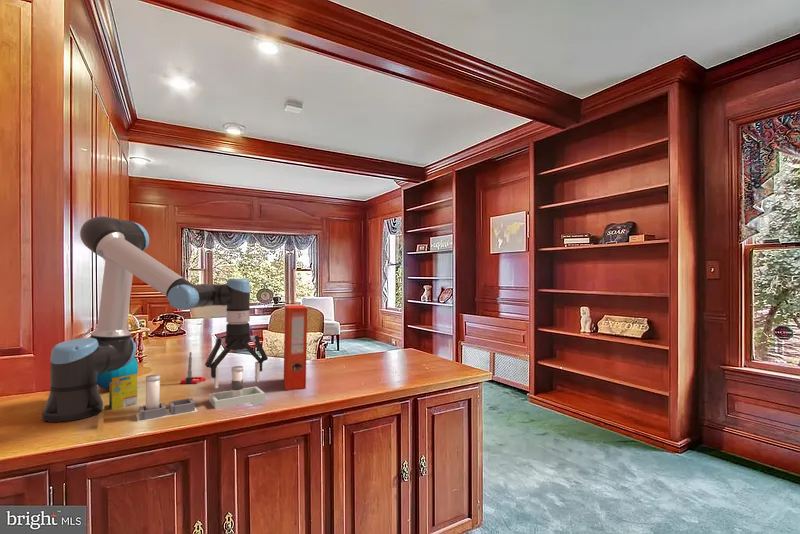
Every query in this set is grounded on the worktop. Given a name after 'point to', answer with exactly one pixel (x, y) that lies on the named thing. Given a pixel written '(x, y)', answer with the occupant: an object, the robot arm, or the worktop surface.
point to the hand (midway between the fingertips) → (237, 384)
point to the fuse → (152, 392)
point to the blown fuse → (237, 381)
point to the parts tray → (237, 398)
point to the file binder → (295, 347)
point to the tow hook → (189, 378)
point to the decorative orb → (117, 374)
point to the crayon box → (123, 392)
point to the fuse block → (167, 410)
